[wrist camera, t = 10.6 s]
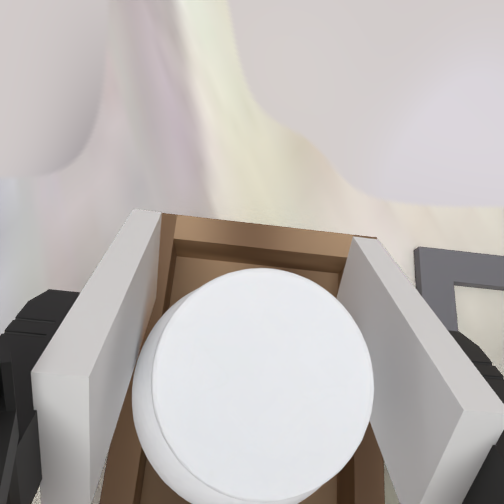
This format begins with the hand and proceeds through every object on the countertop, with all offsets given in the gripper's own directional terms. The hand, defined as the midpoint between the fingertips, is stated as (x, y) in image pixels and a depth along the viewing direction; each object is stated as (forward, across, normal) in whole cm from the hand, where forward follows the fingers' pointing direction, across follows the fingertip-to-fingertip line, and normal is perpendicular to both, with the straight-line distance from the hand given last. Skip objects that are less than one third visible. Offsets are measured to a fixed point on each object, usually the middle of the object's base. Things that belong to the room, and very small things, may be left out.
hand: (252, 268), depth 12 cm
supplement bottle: (+2, 0, +7) cm, 7 cm away
